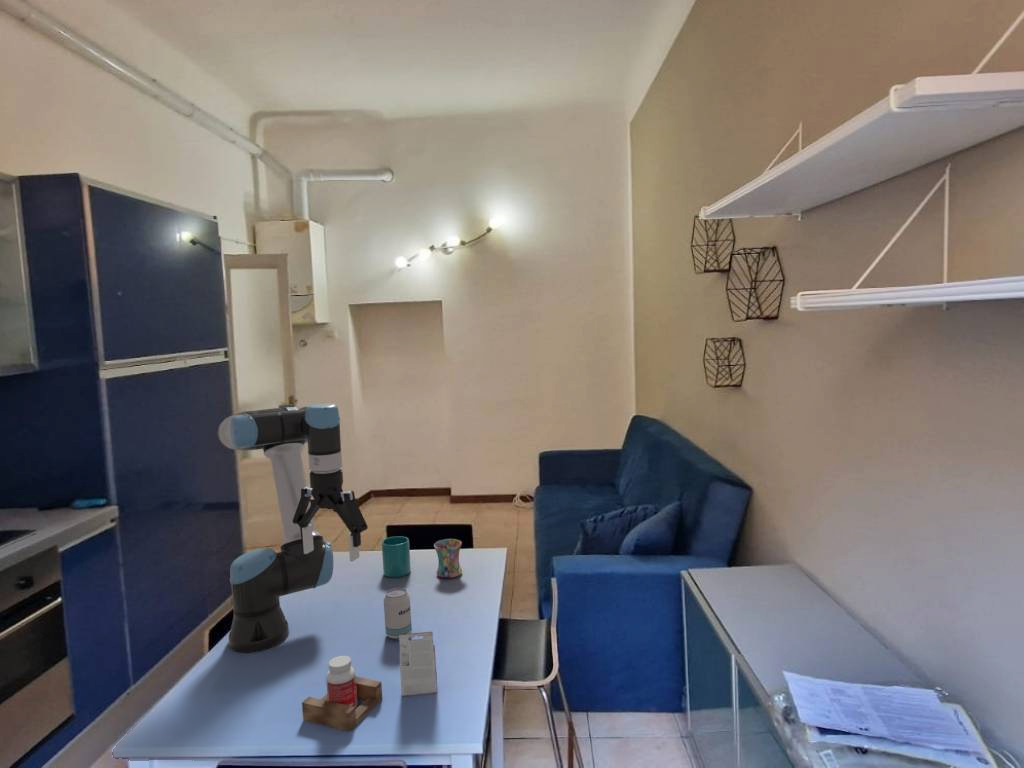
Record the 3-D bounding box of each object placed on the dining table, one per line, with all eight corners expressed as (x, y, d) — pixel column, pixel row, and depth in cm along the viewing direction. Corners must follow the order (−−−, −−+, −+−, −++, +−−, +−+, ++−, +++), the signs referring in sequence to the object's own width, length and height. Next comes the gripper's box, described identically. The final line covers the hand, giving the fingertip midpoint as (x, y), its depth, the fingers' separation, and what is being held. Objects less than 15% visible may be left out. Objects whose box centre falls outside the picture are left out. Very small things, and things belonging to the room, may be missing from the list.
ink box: (402, 687, 143) (398, 627, 142) (437, 684, 144) (434, 624, 142) (401, 697, 139) (397, 635, 138) (437, 693, 140) (433, 632, 139)
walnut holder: (303, 720, 133) (301, 702, 132) (338, 688, 144) (337, 672, 143) (349, 731, 128) (348, 713, 128) (382, 698, 139) (381, 681, 139)
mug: (435, 570, 211) (433, 540, 210) (462, 568, 212) (461, 537, 211) (435, 585, 199) (433, 552, 198) (464, 582, 200) (462, 550, 199)
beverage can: (400, 643, 163) (398, 599, 162) (380, 638, 166) (377, 595, 165) (417, 631, 169) (414, 589, 168) (397, 626, 172) (394, 585, 171)
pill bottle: (361, 710, 135) (358, 662, 134) (333, 721, 132) (330, 672, 131) (352, 697, 140) (348, 650, 139) (325, 707, 137) (321, 659, 136)
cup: (415, 564, 217) (414, 533, 216) (406, 578, 205) (404, 545, 204) (390, 564, 218) (388, 533, 217) (380, 578, 206) (377, 545, 205)
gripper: (273, 469, 149) (279, 554, 151) (360, 478, 139) (365, 568, 142) (295, 462, 155) (301, 543, 158) (379, 469, 146) (384, 556, 148)
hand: (331, 555), depth 150 cm, fingers open, 13 cm apart
